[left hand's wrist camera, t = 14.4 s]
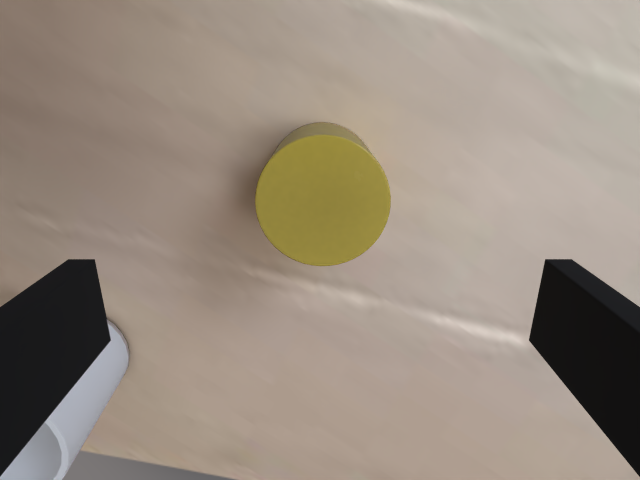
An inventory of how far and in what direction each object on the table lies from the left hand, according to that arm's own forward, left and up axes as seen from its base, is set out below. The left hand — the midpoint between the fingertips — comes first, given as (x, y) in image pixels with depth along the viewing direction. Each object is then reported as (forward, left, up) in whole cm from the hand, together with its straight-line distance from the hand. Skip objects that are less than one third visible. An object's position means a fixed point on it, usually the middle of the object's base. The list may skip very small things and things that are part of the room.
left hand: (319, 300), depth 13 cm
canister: (0, 0, -19) cm, 19 cm away
